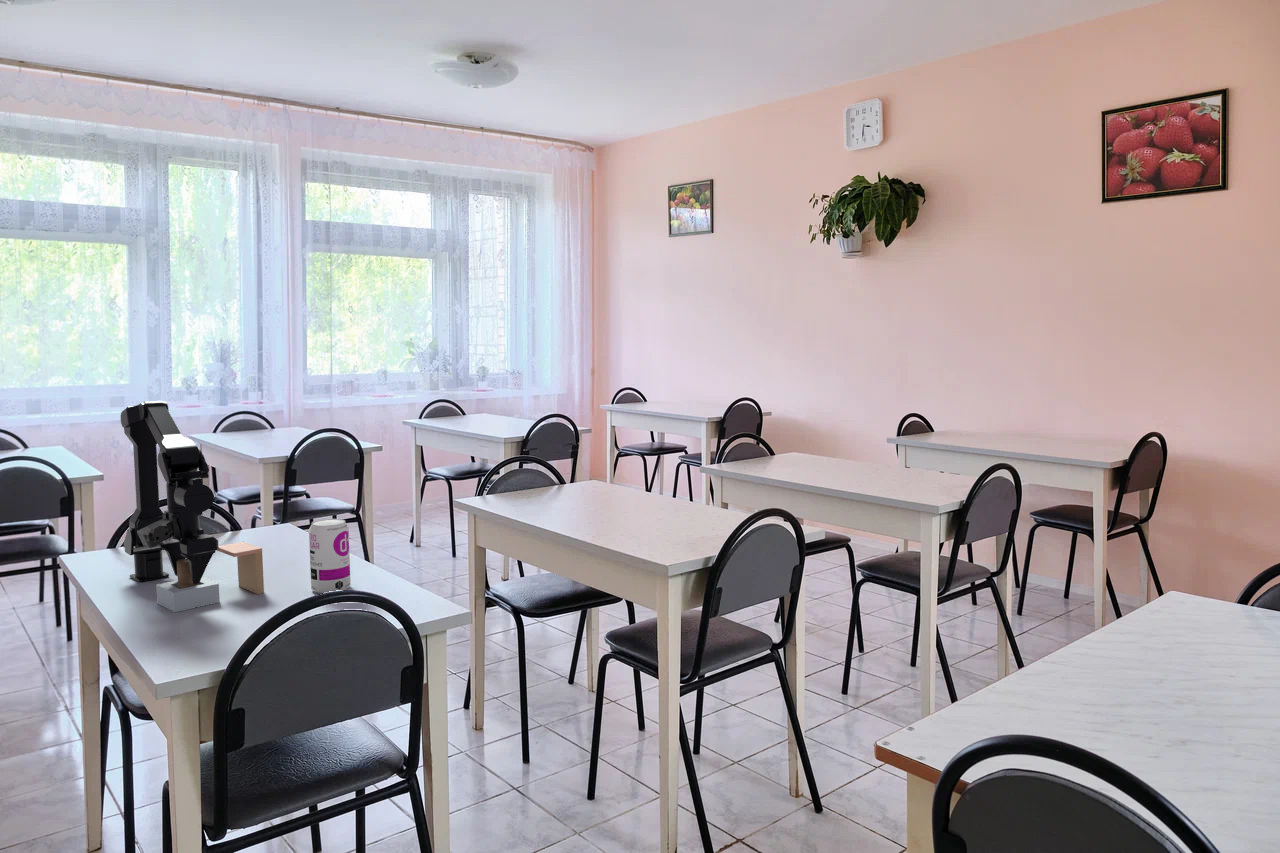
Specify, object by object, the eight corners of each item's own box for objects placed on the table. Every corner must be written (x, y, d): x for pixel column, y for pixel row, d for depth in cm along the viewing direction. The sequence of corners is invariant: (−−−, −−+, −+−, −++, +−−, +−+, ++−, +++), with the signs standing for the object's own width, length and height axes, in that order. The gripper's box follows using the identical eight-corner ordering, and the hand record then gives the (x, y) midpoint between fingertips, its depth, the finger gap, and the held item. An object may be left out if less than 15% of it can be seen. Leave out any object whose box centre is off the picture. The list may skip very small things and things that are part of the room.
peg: (193, 599, 192) (190, 557, 191) (199, 602, 189) (197, 560, 188) (176, 603, 189) (173, 560, 188) (182, 606, 187) (180, 563, 186)
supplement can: (358, 586, 202) (356, 519, 200) (334, 596, 194) (331, 527, 192) (327, 582, 204) (325, 517, 203) (303, 592, 196) (300, 524, 195)
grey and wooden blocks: (157, 603, 189) (154, 557, 188) (245, 584, 202) (243, 541, 201) (174, 612, 183) (171, 564, 182) (264, 592, 196) (262, 548, 195)
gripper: (124, 505, 187) (128, 579, 189) (159, 518, 175) (163, 596, 176) (180, 497, 195) (184, 568, 197) (217, 509, 183) (221, 584, 185)
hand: (187, 579), depth 189 cm, fingers open, 9 cm apart
